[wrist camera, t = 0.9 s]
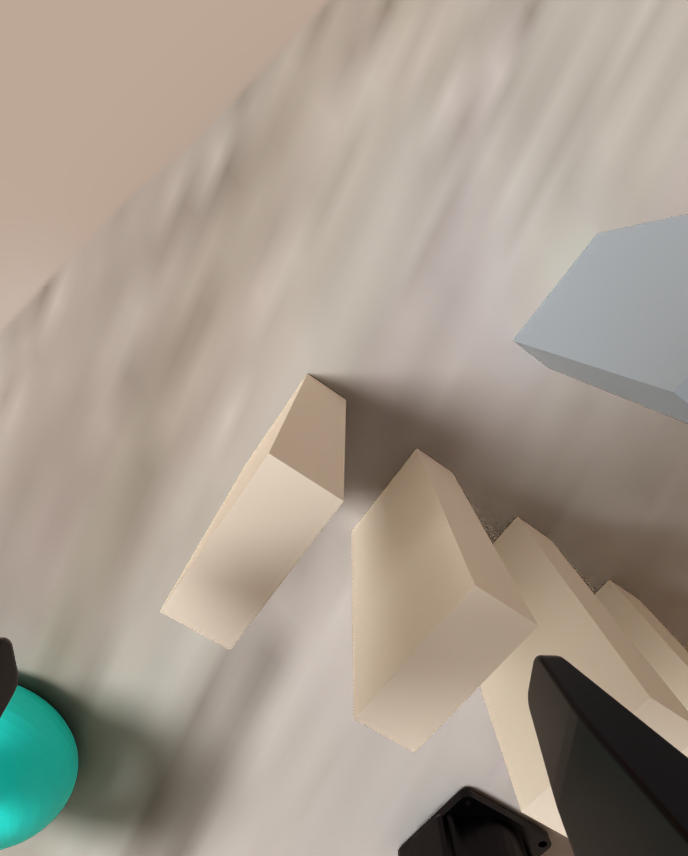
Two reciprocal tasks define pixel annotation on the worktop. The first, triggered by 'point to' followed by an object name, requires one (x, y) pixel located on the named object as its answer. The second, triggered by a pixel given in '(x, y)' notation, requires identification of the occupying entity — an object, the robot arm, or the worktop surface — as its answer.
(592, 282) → the domino
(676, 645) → the ivory domino
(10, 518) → the worktop surface
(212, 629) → the ivory domino
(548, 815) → the ivory domino
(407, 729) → the ivory domino
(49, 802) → the turquoise lobed shape
